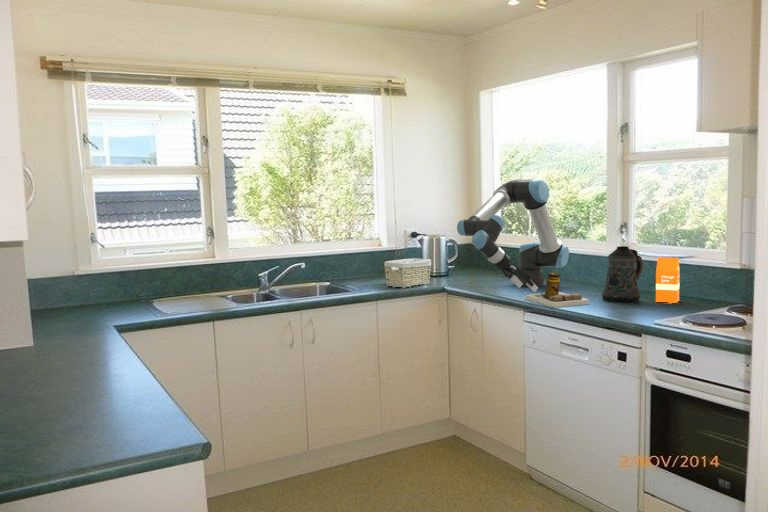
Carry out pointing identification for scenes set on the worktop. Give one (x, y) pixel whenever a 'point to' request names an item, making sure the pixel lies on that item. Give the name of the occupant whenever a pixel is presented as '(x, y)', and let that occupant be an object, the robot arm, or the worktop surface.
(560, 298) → the block
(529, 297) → the tray
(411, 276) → the storage basket
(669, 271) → the orange juice
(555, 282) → the condiment
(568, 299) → the block
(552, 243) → the robot arm
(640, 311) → the worktop surface
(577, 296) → the block
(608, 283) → the beer stein
